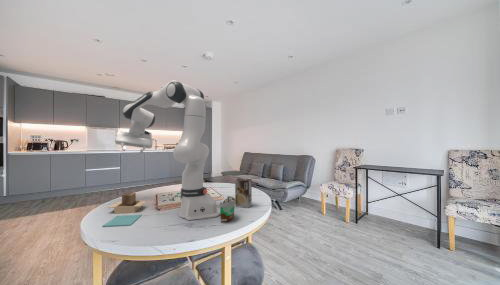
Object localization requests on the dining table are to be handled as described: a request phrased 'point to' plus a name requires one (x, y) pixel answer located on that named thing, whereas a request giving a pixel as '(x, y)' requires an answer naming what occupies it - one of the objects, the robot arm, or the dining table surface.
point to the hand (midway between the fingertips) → (132, 151)
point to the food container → (227, 209)
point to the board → (122, 220)
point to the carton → (127, 207)
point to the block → (129, 199)
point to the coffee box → (243, 192)
